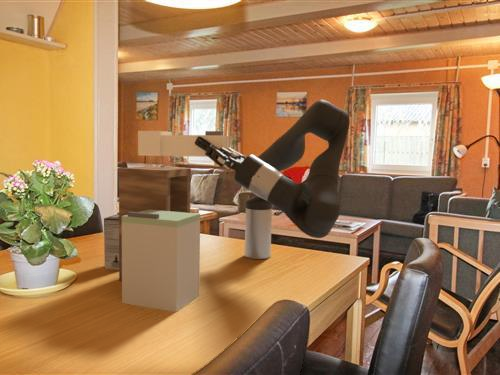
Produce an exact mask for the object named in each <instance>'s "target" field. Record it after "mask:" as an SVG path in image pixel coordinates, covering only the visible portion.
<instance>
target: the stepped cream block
mask: <svg viewBox="0 0 500 375" xmlns="http://www.w3.org/2000/svg"><path fill="white" fill-rule="evenodd" d="M204 134H205V135H202V134H201V135H200V134H196V135H195V134H193V135H192V134H188V135H187V134H184V135H183V134H179V135H178V134H173V132H172V131H165V130H163V131H162V130H137V156H150V157H151V156H152V157H157V156H158V157H201V158H203V157H204V158H205V157H206V158H209V157H208V156H206V155H205V153H206V151H204V150H203V149H201V148H200V147H198V146H197V145H195V141H196V139H197V137H198V136H200V137H202V138H204V139H205V140H207V141H209V142H210V143H212V144H214V145H215V146H217V147H219V148H221V147H222V148H225V149H227V150H228V148H229V147H230V136H229V135H224V131H222V130H220V131H218V130H210V131H209V130H207V131H205V133H204ZM223 152H224V151H223ZM223 152H222V153H223ZM212 153H213V154H214V150H213V152H212Z"/></svg>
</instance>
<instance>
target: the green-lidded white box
mask: <svg viewBox="0 0 500 375" xmlns="http://www.w3.org/2000/svg"><path fill="white" fill-rule="evenodd" d="M200 245H201V213H194V212H190V213H185V212H173V211H160V210H145V211H141V212H128V215H124V216H122V281H121V304H126V305H132V306H133V305H134V306H138V307H142V308H143V307H144V308H150V309H157V310H163V311H168V312H174V313H178V311H180V310H182V309H183V308H184V307H185V306H187V305H188V304H190V303H192V301H194V300H196V299H197V298H198V297H199V296H200V269H201V268H200V266H201V265H200V262H201V261H200V259H201V258H200V257H201V256H200V254H201V246H200Z"/></svg>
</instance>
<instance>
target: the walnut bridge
mask: <svg viewBox="0 0 500 375" xmlns="http://www.w3.org/2000/svg"><path fill="white" fill-rule="evenodd" d="M191 169H192V168H191V167H188V168H187V167H169V166H168V167H167V166H166V167H165V166H134V167H133V166H132V167H119V168H118V214H119V270H118V276H119V280H118V281H119V282H122V216H124V215H128V212H141V211H145V210H160V211H173V212H185V213H191V194H192V193H191V190H192V188H191V185H192V182H191V178H192V176H191V175H192V170H191Z"/></svg>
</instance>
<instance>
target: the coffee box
mask: <svg viewBox="0 0 500 375" xmlns="http://www.w3.org/2000/svg"><path fill="white" fill-rule="evenodd" d="M103 237H104V238H103V240H104V242H103V246H104V248H103V250H104V269H105V270H112V271H113V270H114V271H119V213H117V214H114V215H111V216H107V217H104V218H103Z"/></svg>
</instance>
